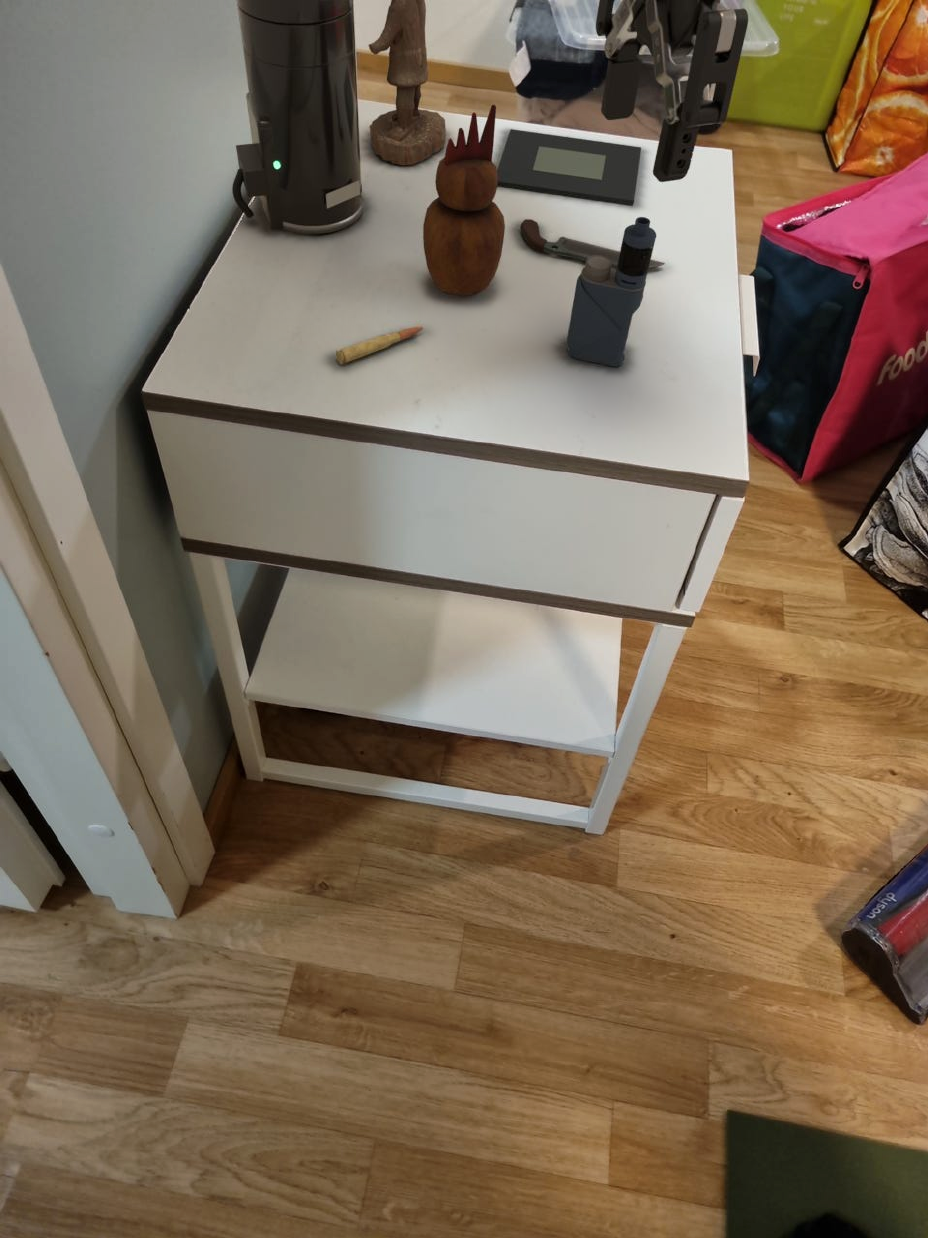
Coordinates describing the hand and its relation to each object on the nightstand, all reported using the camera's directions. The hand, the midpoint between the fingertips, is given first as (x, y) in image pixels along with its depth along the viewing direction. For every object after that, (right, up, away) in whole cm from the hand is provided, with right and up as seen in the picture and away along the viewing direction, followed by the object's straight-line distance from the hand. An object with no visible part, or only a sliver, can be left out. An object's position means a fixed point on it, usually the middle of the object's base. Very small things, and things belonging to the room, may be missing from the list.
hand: (641, 146), depth 62 cm
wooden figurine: (-12, -3, +18) cm, 22 cm away
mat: (-1, +14, +31) cm, 34 cm away
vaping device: (-1, -10, +14) cm, 17 cm away
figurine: (-18, +17, +33) cm, 41 cm away
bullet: (-19, -9, +12) cm, 25 cm away
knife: (-1, +2, +22) cm, 22 cm away
